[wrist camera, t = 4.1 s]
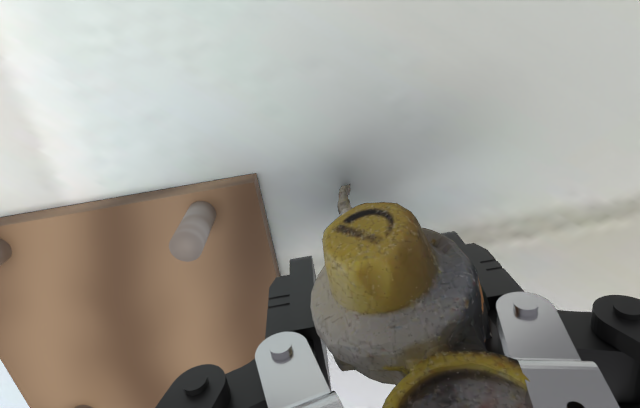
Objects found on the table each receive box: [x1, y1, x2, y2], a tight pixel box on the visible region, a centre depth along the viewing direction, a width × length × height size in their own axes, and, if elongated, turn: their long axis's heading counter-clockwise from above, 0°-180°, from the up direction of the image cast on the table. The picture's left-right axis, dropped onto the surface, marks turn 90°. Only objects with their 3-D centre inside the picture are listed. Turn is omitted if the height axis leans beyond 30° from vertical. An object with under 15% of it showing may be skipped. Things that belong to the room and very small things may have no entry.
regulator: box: [310, 184, 571, 408], centre depth 12 cm, size 8×4×15 cm, turn 23°
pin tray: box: [0, 173, 280, 408], centre depth 19 cm, size 14×12×4 cm
